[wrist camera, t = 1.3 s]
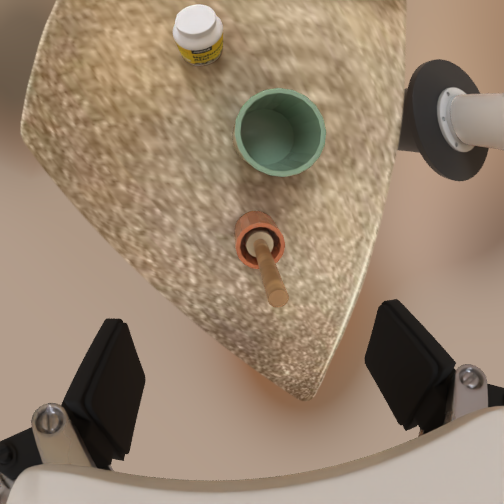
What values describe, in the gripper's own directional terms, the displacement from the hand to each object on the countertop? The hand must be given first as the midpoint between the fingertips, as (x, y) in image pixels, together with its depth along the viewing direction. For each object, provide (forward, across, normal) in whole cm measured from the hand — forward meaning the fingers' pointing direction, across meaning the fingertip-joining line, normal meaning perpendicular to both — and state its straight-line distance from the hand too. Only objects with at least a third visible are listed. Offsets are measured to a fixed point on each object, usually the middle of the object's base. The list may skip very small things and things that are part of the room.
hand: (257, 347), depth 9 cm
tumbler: (+28, -4, -8) cm, 29 cm away
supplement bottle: (+28, +4, -21) cm, 35 cm away
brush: (+27, -3, +4) cm, 28 cm away
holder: (+28, -3, +4) cm, 28 cm away
